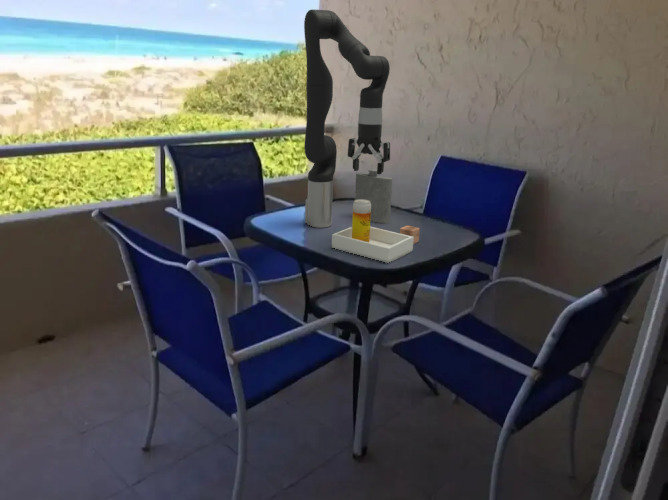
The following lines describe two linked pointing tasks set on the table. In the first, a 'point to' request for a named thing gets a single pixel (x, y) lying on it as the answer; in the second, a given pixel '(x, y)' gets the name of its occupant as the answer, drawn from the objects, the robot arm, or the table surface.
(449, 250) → the table surface
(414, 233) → the wooden cube
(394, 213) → the table surface
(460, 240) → the table surface
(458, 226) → the table surface
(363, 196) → the hip flask
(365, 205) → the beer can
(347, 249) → the tray
